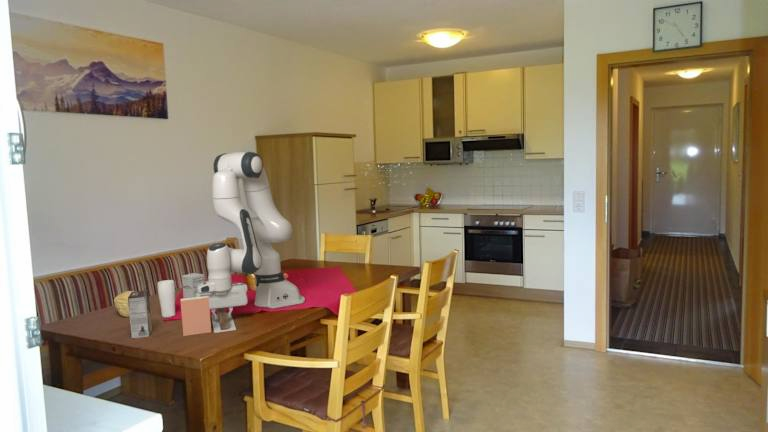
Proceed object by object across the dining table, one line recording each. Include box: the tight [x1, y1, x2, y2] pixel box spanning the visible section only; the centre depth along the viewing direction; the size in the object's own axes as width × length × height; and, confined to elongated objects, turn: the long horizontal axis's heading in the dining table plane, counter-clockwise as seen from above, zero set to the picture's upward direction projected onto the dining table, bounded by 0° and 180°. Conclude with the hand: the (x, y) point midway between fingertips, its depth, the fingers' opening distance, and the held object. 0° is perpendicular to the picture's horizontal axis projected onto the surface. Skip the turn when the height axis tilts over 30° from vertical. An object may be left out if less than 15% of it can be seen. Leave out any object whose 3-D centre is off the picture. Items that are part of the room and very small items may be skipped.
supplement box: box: [181, 272, 206, 299], centre depth 262 cm, size 7×7×13 cm
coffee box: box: [128, 289, 153, 340], centre depth 214 cm, size 9×6×16 cm
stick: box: [216, 308, 229, 330], centre depth 225 cm, size 3×22×4 cm, turn 19°
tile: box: [180, 296, 212, 337], centre depth 212 cm, size 10×3×14 cm, turn 109°
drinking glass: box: [157, 279, 176, 319], centre depth 238 cm, size 7×7×15 cm
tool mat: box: [210, 313, 237, 334], centre depth 225 cm, size 8×26×1 cm, turn 19°
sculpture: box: [113, 290, 137, 318], centre depth 243 cm, size 12×12×11 cm
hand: (222, 318), depth 225 cm, fingers closed on stick, 3 cm apart
